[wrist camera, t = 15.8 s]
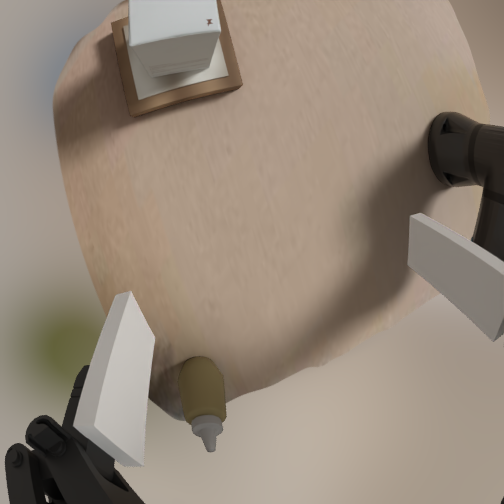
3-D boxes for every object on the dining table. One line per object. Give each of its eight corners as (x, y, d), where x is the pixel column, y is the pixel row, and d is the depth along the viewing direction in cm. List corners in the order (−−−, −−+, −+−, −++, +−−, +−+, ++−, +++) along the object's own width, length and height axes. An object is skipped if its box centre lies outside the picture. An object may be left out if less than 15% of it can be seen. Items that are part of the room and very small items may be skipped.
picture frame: (216, 4, 27) (219, -6, 24) (238, 88, 33) (243, 84, 30) (116, 30, 25) (110, 22, 22) (134, 117, 31) (129, 115, 28)
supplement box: (204, 19, 25) (215, -32, 14) (209, 69, 28) (223, 32, 17) (144, 28, 24) (127, -20, 13) (148, 79, 27) (128, 47, 16)
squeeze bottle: (187, 385, 50) (195, 464, 33) (170, 357, 46) (172, 443, 30) (226, 374, 50) (245, 454, 34) (212, 345, 47) (230, 431, 31)
